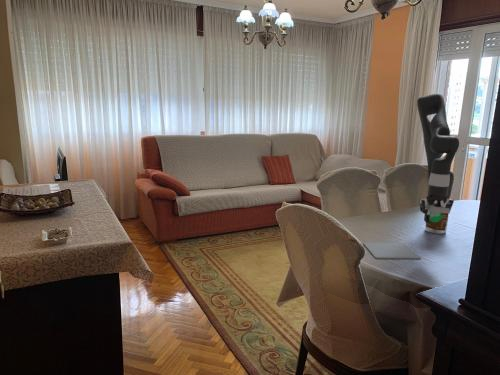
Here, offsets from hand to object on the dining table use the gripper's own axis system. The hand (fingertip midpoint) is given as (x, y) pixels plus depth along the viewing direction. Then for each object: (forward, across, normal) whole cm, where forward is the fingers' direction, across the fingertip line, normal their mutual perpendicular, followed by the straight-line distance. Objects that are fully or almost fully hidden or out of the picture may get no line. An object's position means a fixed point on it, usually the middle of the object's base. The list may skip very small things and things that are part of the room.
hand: (433, 222), depth 158 cm
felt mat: (+17, +13, -9) cm, 23 cm away
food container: (+2, +1, 0) cm, 2 cm away
